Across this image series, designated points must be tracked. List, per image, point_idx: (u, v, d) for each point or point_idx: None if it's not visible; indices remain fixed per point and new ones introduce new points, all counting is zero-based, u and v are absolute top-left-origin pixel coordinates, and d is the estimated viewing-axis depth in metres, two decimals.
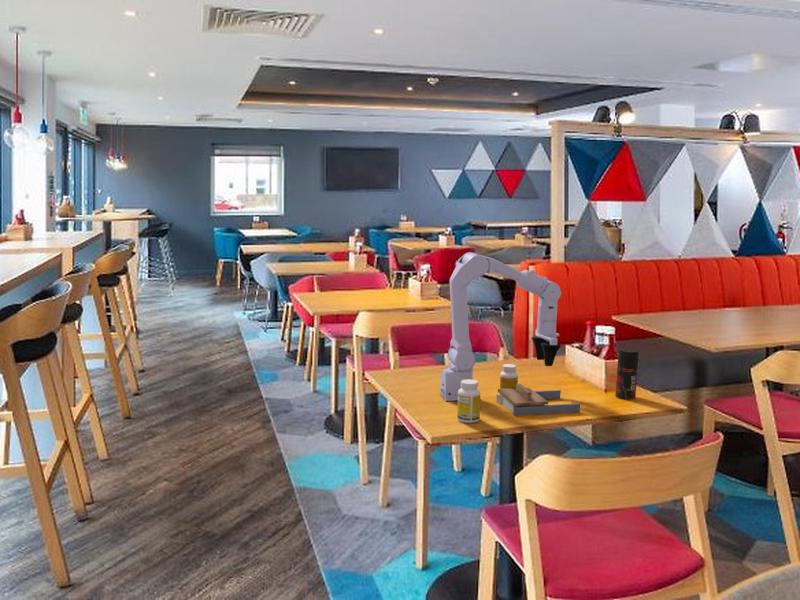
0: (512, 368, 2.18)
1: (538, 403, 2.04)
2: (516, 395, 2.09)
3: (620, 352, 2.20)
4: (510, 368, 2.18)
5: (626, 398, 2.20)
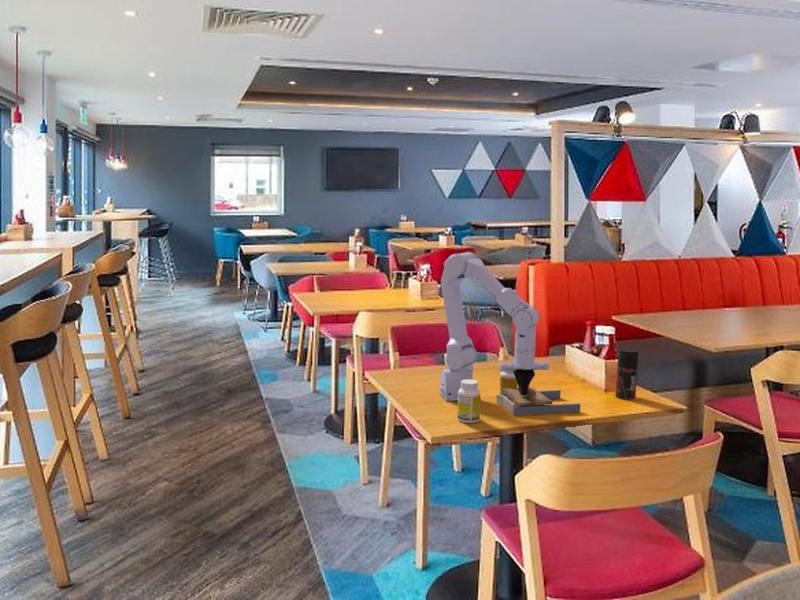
0: None
1: (542, 403, 2.04)
2: (520, 395, 2.10)
3: (620, 352, 2.20)
4: None
5: (626, 398, 2.20)
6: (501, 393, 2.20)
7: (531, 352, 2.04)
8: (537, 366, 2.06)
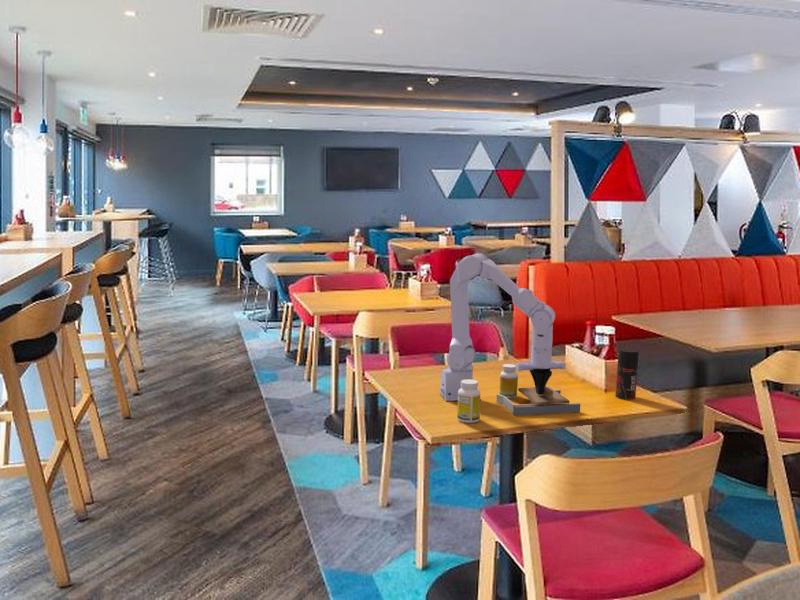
0: (512, 368, 2.18)
1: (559, 402, 2.05)
2: (537, 394, 2.11)
3: (620, 352, 2.20)
4: (510, 368, 2.18)
5: (626, 398, 2.20)
6: (501, 393, 2.20)
7: (548, 351, 2.05)
8: (554, 365, 2.07)
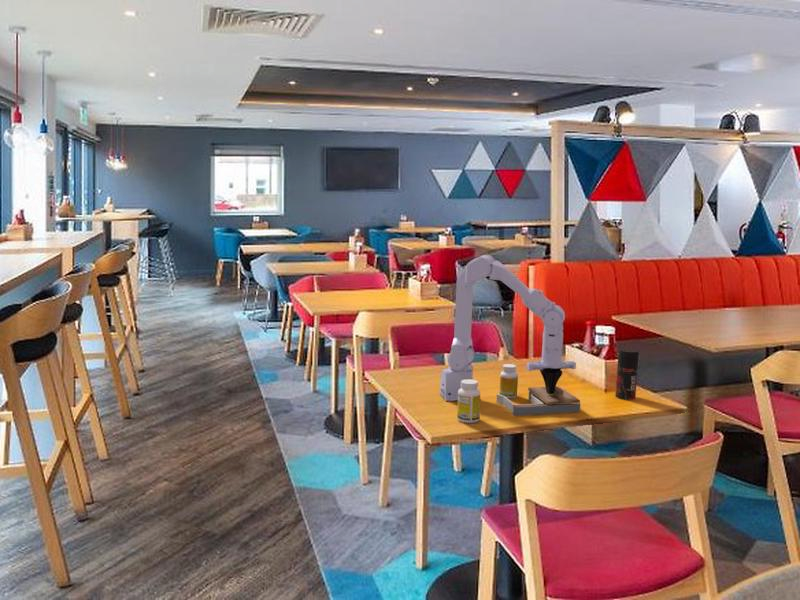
0: (512, 368, 2.18)
1: (570, 401, 2.06)
2: (547, 394, 2.11)
3: (620, 352, 2.20)
4: (510, 368, 2.18)
5: (626, 398, 2.20)
6: (501, 393, 2.20)
7: (559, 351, 2.06)
8: (564, 365, 2.08)
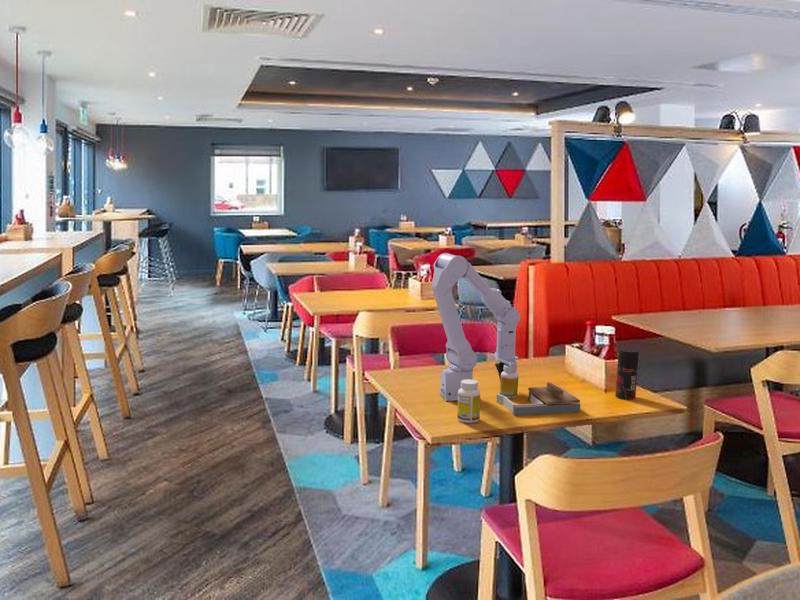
0: None
1: (570, 401, 2.06)
2: (547, 394, 2.11)
3: (620, 352, 2.20)
4: None
5: (626, 398, 2.20)
6: (501, 393, 2.20)
7: None
8: None
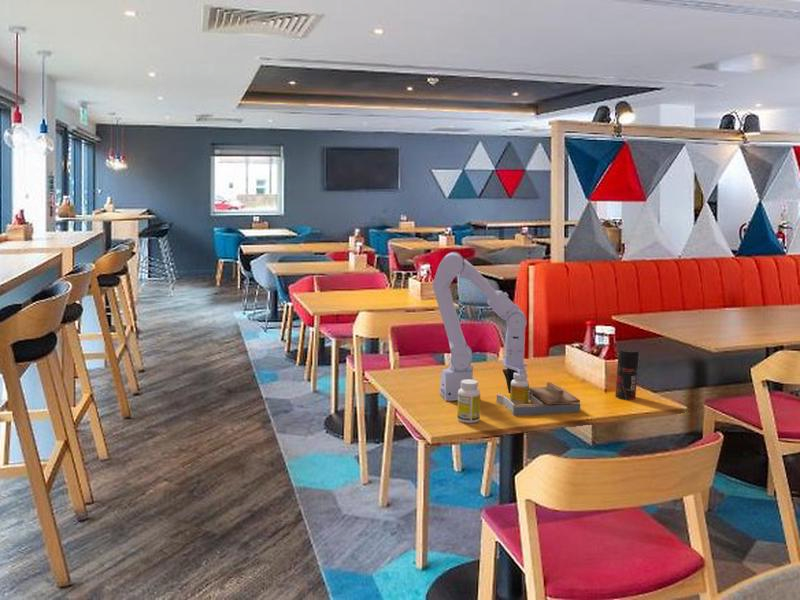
0: (522, 376, 2.09)
1: (570, 401, 2.06)
2: (547, 394, 2.11)
3: (620, 352, 2.20)
4: (520, 376, 2.09)
5: (626, 398, 2.20)
6: None
7: None
8: None
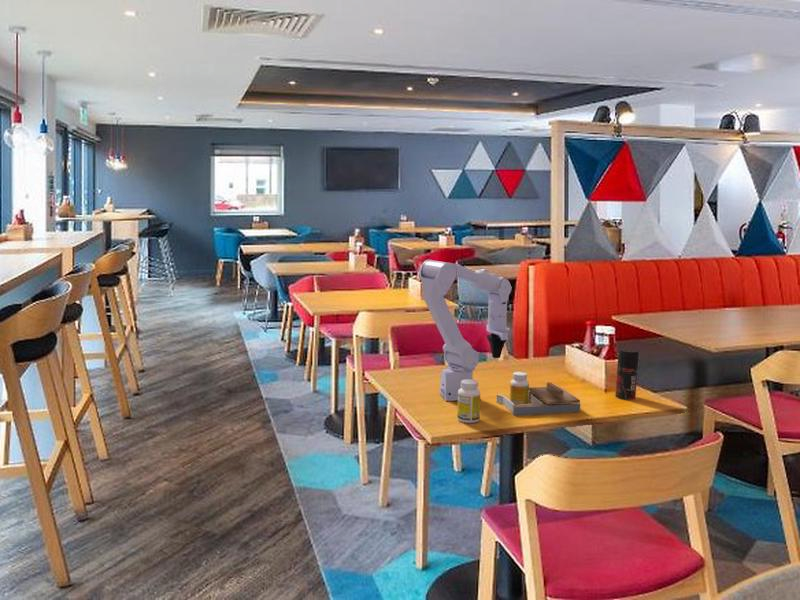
0: (522, 376, 2.09)
1: (570, 401, 2.06)
2: (547, 394, 2.11)
3: (620, 352, 2.20)
4: (520, 376, 2.09)
5: (626, 398, 2.20)
6: None
7: None
8: None
